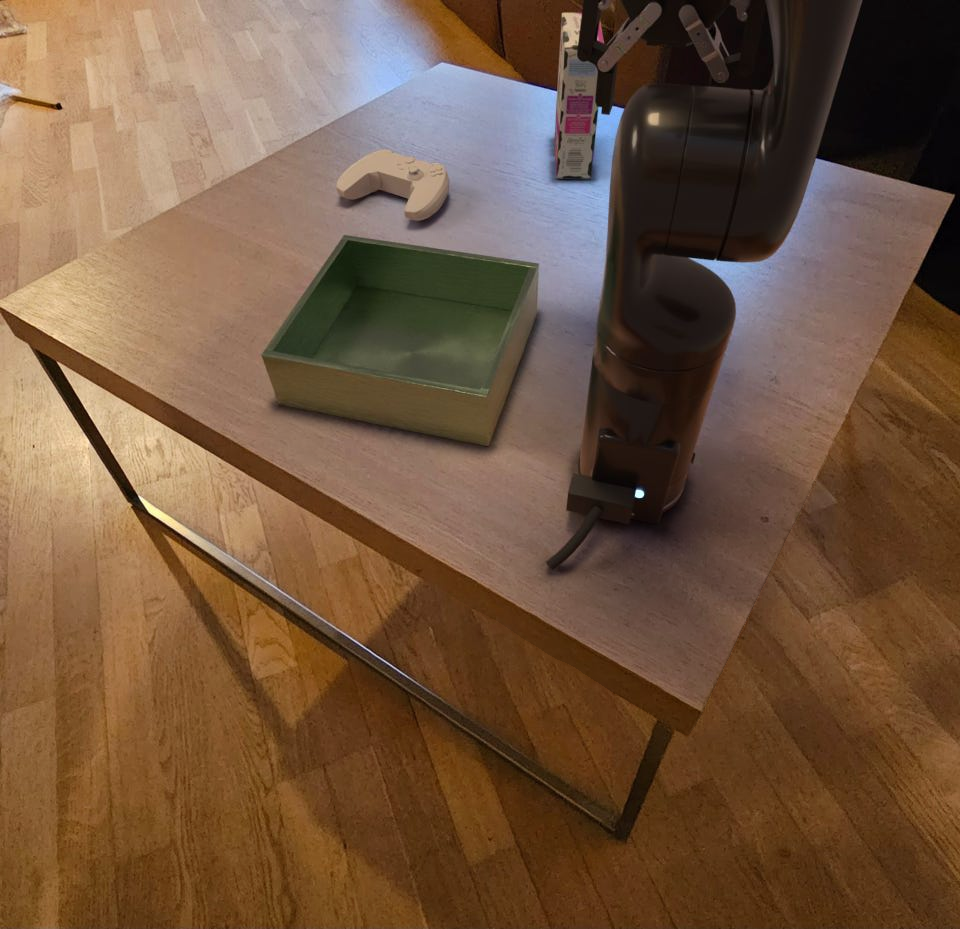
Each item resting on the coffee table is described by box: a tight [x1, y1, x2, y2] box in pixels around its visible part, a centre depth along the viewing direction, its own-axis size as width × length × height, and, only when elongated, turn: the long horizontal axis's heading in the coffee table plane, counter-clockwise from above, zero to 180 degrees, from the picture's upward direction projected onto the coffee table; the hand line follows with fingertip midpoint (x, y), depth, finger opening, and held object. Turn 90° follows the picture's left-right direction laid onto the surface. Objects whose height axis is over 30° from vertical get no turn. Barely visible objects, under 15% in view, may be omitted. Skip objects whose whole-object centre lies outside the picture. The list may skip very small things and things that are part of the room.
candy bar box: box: [554, 11, 605, 180], centre depth 93 cm, size 11×5×16 cm, turn 178°
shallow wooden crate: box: [260, 234, 540, 447], centre depth 72 cm, size 20×22×7 cm
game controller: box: [335, 149, 450, 221], centre depth 92 cm, size 14×4×10 cm
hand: (655, 116), depth 63 cm, fingers open, 8 cm apart
